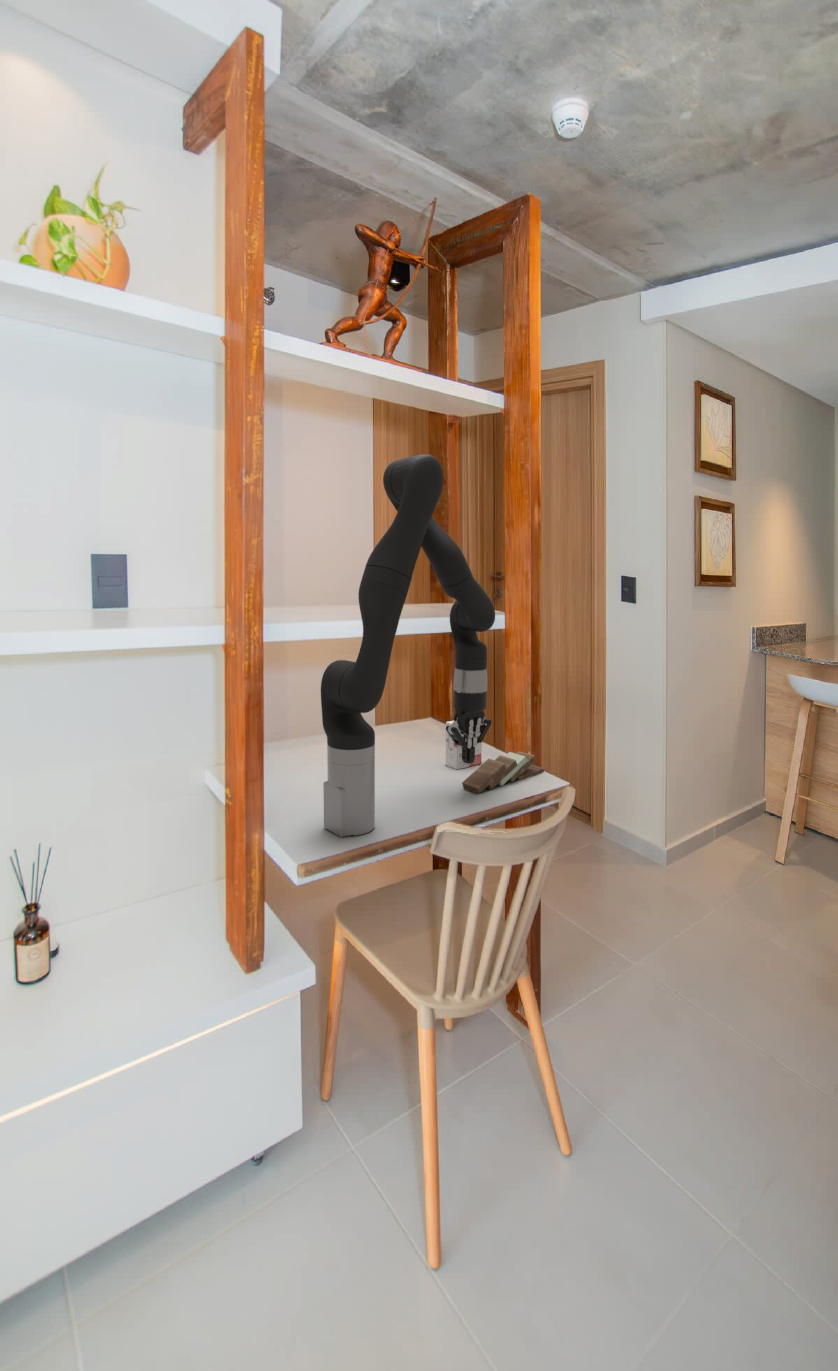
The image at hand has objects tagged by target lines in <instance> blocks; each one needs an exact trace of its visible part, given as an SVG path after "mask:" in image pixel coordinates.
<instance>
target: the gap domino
mask: <svg viewBox="0 0 838 1371" xmlns="http://www.w3.org/2000/svg"><path fill="white" fill-rule="evenodd" d="M504 756H505V757H508V758H511V759H514V760H516V762H517V766H516V767H515V768H514V769H513V770H512V771H511V772H510V773H509V774H508V775H507V776H506V777H505V778H504V779H502V780H501V781H500V782H499V783H498V784H497V785H496V786H501V787H502V786H504V785H505V784H506V783H507V782H508V780H509V779H510V778H511V777H512V776H513V775H514V774H515V773H516V772H517V771H518V770H519V769H520V768H521V767H522V766H523V765H524V764H525V763H526V762H527V760H526V756H522V755H519V754H516V753H514V752H512V751H509V752H508V753H506V754H505V755H504Z"/></svg>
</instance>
